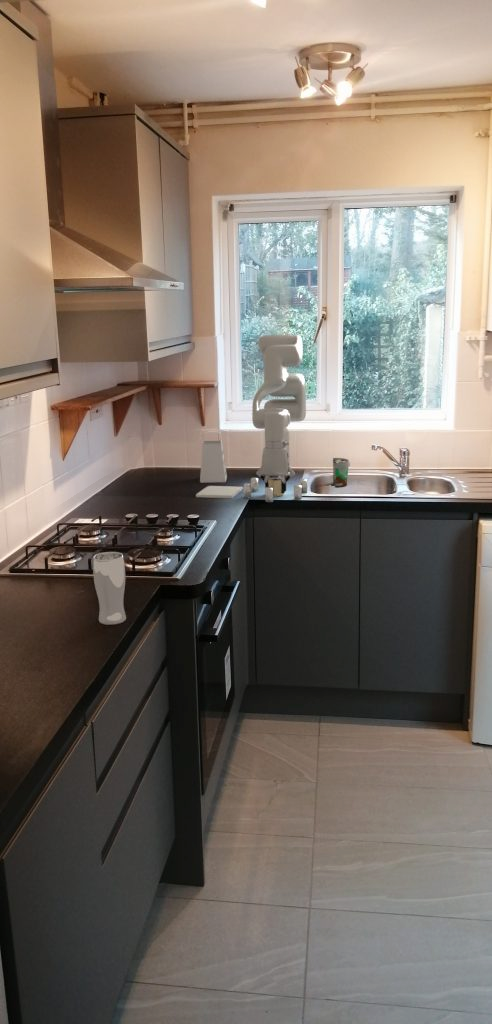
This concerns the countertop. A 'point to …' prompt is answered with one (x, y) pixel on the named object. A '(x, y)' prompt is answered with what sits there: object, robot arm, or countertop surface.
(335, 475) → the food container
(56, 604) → the countertop surface
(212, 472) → the grater
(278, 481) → the faceted candle holder
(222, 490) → the mat
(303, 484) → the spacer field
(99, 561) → the beer glass
